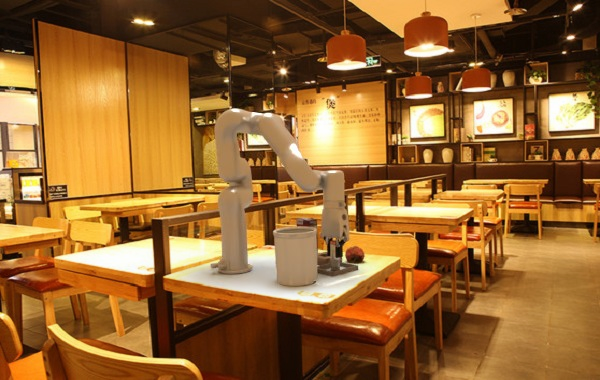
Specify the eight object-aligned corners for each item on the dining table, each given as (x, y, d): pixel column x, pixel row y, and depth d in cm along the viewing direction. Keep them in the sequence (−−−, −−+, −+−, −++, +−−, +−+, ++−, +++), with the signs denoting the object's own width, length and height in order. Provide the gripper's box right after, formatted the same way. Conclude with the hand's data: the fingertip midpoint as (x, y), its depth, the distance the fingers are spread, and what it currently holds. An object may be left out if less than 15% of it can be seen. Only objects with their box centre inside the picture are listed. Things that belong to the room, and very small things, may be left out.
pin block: (325, 269, 165) (325, 258, 165) (309, 265, 172) (308, 255, 171) (342, 265, 171) (342, 254, 170) (325, 261, 178) (325, 251, 177)
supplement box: (296, 255, 191) (295, 218, 190) (305, 253, 194) (304, 217, 193) (310, 258, 184) (309, 220, 183) (318, 256, 188) (317, 219, 186)
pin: (335, 270, 157) (334, 242, 156) (328, 269, 159) (327, 241, 158) (342, 269, 159) (341, 240, 158) (335, 267, 161) (334, 239, 161)
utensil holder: (272, 287, 144) (270, 233, 143) (277, 275, 159) (275, 226, 157) (318, 286, 143) (316, 232, 142) (318, 274, 158) (317, 225, 157)
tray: (332, 279, 151) (332, 272, 151) (312, 274, 158) (312, 267, 158) (358, 272, 160) (358, 265, 159) (338, 267, 167) (337, 261, 167)
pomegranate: (365, 271, 169) (367, 251, 176) (360, 259, 164) (363, 239, 172) (346, 272, 172) (349, 252, 179) (341, 260, 167) (344, 240, 174)
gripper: (358, 205, 154) (359, 258, 155) (325, 203, 166) (326, 251, 167) (343, 207, 149) (344, 262, 150) (310, 204, 161) (311, 254, 162)
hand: (334, 256), depth 159 cm, fingers closed on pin, 3 cm apart
